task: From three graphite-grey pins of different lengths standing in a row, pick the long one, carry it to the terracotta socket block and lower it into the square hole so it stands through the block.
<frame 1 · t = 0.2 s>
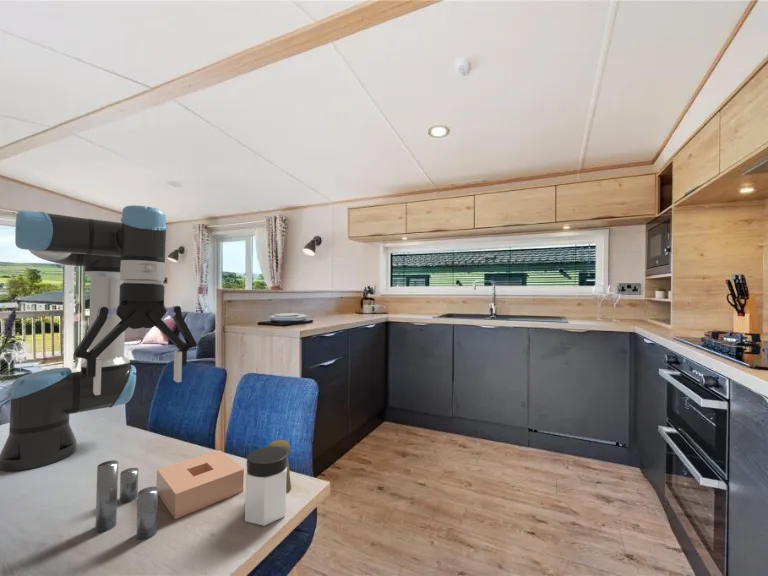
hand: (140, 387, 70), 26 cm above the table, tool pointing down, fingers open, 13 cm apart
socket block: (199, 491, 79), on the table
medium pin: (146, 533, 65), on the table
short pin: (128, 498, 76), on the table
olive pawn: (277, 490, 80), on the table
jar: (266, 513, 72), on the table
long pin: (105, 526, 67), on the table
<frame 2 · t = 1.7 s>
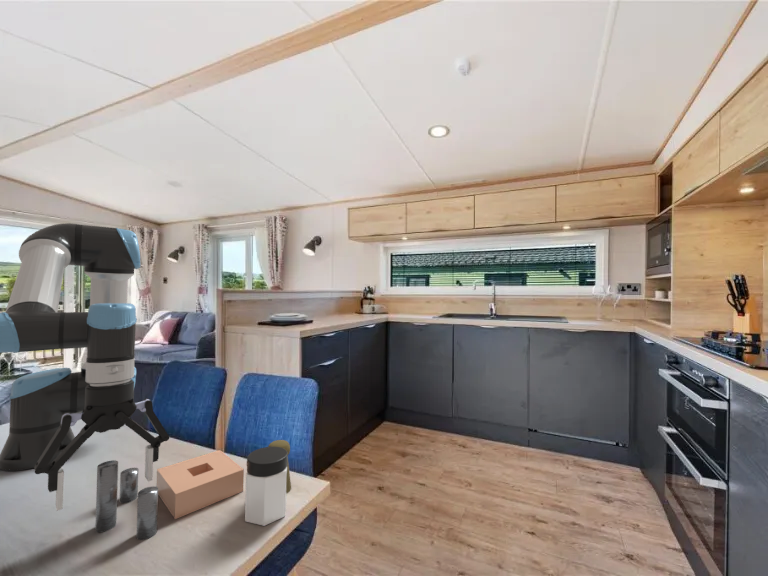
hand: (107, 491, 67), 7 cm above the table, tool pointing down, fingers open, 13 cm apart
nothing on the table moved.
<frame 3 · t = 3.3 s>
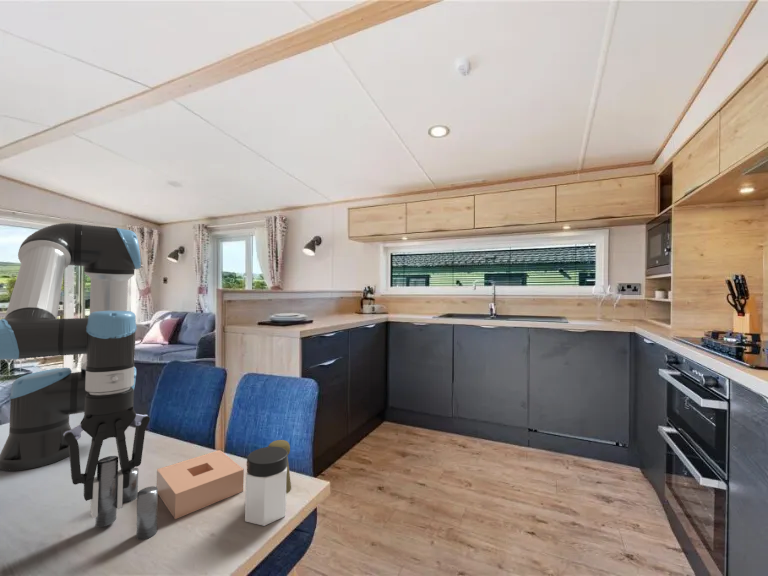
hand: (106, 509, 67), 3 cm above the table, tool pointing down, fingers closed on long pin, 3 cm apart
long pin: (106, 521, 67), point 1 cm above the table, touching gripper
everything else where it was.
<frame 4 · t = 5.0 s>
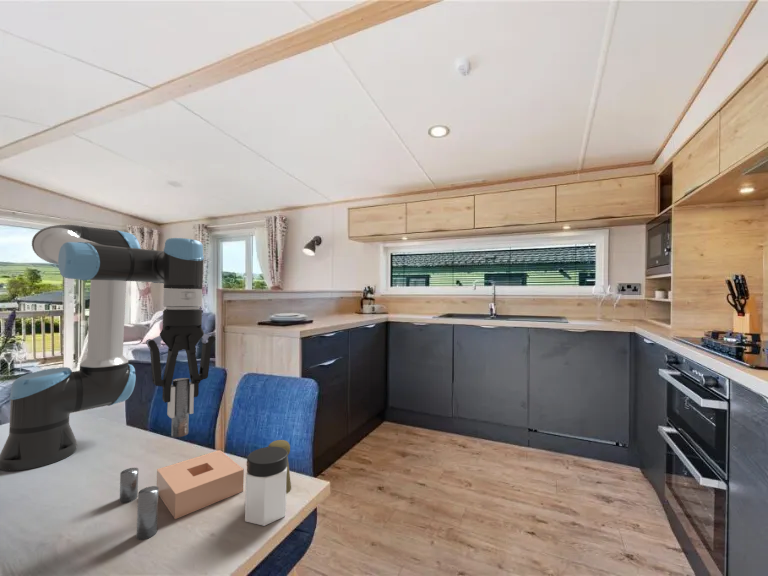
hand: (180, 414, 76), 19 cm above the table, tool pointing down, fingers closed on long pin, 3 cm apart
long pin: (179, 434, 76), point 14 cm above the table, touching gripper
everything else where it was.
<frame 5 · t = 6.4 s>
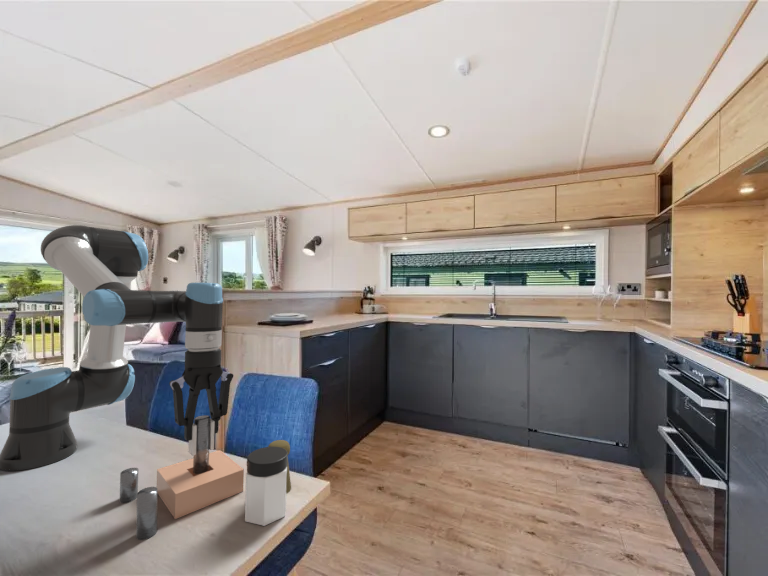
hand: (201, 450, 79), 9 cm above the table, tool pointing down, fingers closed on long pin, 3 cm apart
long pin: (201, 470, 79), point 5 cm above the table, touching gripper
everything else where it was.
when the fingers open (6 cm above the table, at t = 7.2 s): long pin drops 2 cm, resting in socket block.
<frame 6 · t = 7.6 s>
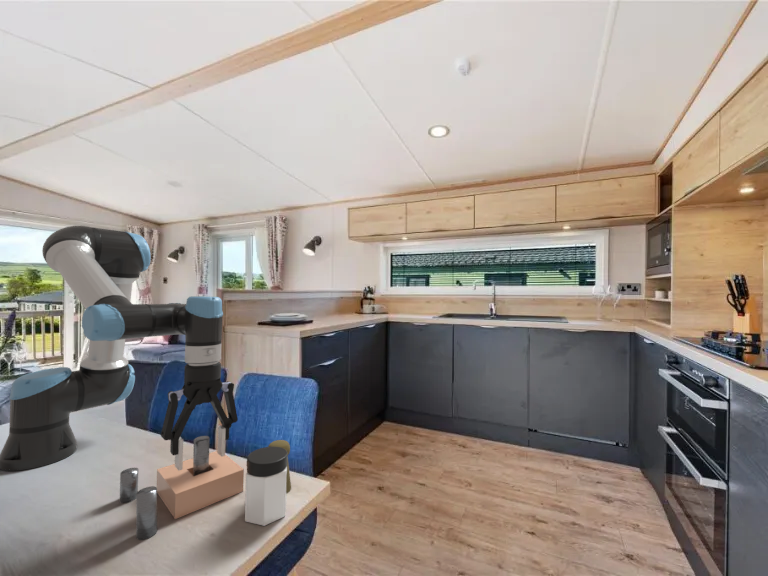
hand: (200, 460, 79), 7 cm above the table, tool pointing down, fingers open, 8 cm apart
long pin: (200, 491, 79), resting in socket block
everything else where it was.
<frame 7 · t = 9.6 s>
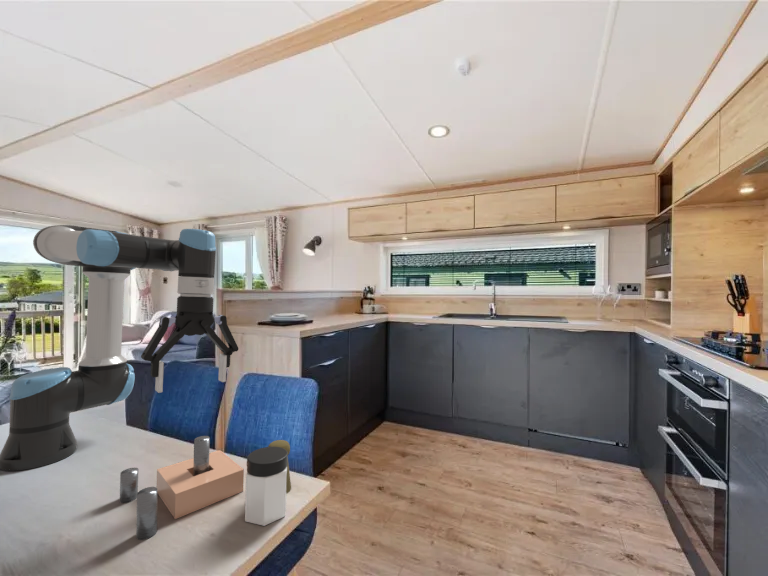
hand: (192, 385, 81), 24 cm above the table, tool pointing down, fingers open, 13 cm apart
nothing on the table moved.
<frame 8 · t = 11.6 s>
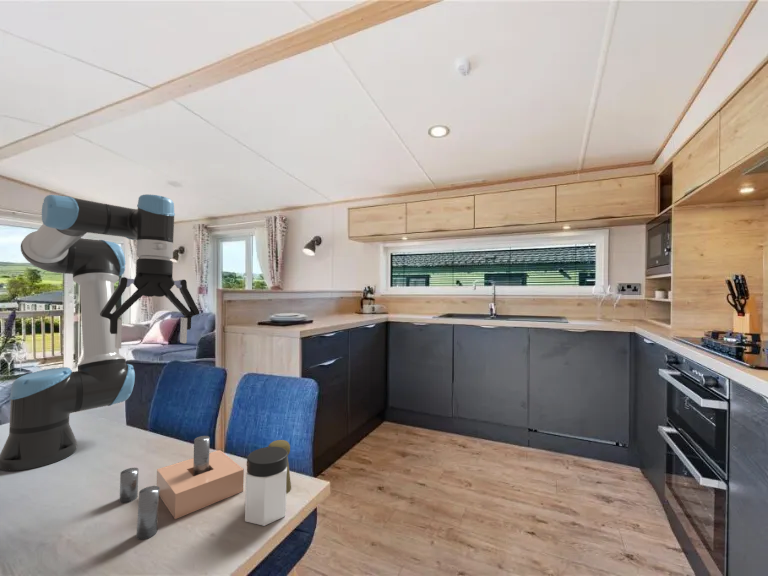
hand: (152, 345, 84), 33 cm above the table, tool pointing down, fingers open, 13 cm apart
nothing on the table moved.
at the end: long pin 0.1 cm off-centre on the socket block, point 0.0 cm above the socket block's base; long pin tilted 0°; the gripper is holding nothing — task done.
